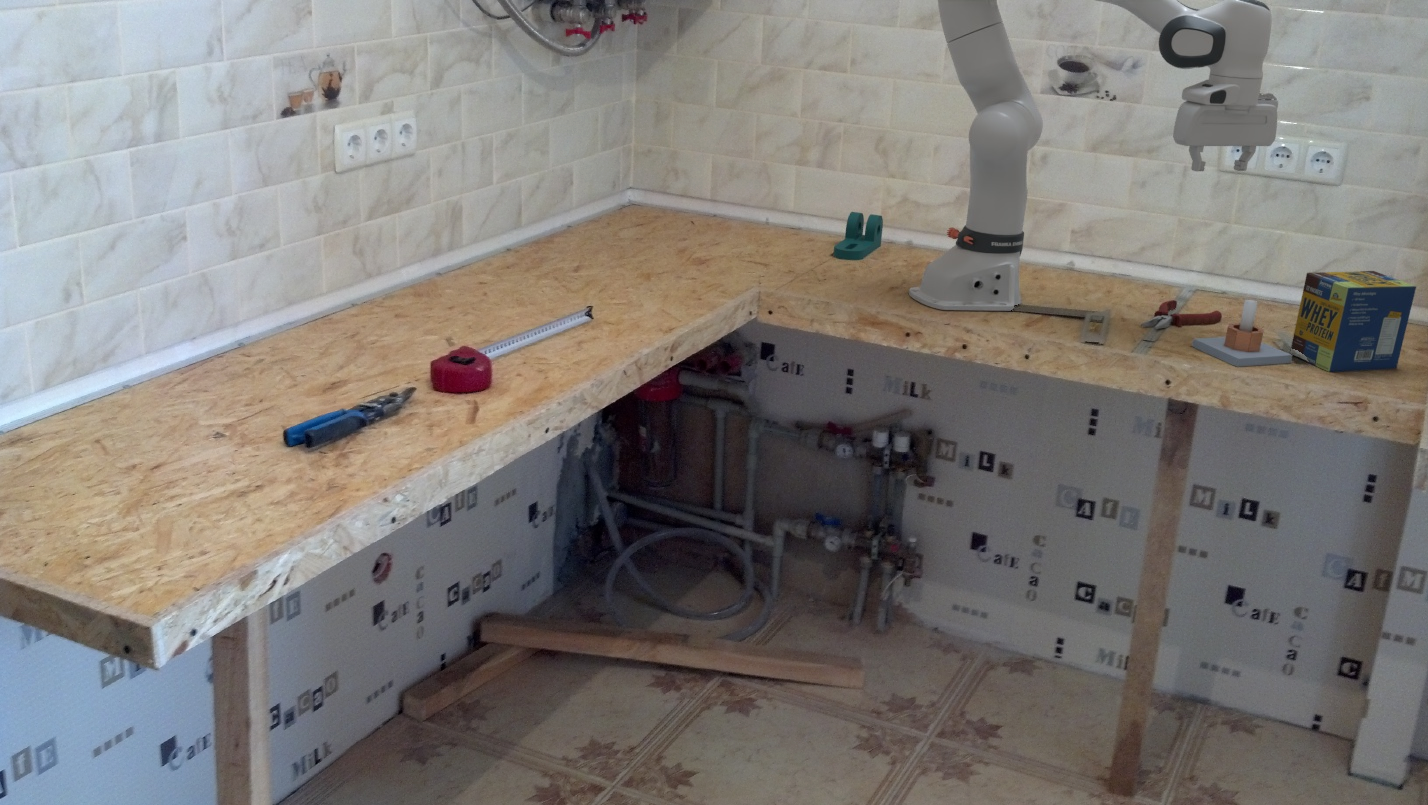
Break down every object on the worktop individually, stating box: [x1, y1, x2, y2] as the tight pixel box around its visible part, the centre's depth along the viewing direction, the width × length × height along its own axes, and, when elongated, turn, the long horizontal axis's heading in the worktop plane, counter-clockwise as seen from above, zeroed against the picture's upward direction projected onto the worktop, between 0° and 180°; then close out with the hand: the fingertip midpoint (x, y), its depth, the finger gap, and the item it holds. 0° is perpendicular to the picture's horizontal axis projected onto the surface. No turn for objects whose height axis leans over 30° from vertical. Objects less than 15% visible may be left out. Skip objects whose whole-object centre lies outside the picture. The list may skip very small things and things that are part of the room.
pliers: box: [1140, 299, 1223, 330], centre depth 264 cm, size 12×20×3 cm, turn 135°
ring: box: [1224, 322, 1265, 352], centre depth 245 cm, size 6×6×4 cm
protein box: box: [1290, 270, 1417, 373], centre depth 243 cm, size 10×15×16 cm
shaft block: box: [1191, 299, 1293, 368], centre depth 244 cm, size 12×12×10 cm
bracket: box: [832, 211, 884, 261], centre depth 305 cm, size 18×7×8 cm, turn 158°
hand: (1218, 170), depth 245 cm, fingers open, 8 cm apart
